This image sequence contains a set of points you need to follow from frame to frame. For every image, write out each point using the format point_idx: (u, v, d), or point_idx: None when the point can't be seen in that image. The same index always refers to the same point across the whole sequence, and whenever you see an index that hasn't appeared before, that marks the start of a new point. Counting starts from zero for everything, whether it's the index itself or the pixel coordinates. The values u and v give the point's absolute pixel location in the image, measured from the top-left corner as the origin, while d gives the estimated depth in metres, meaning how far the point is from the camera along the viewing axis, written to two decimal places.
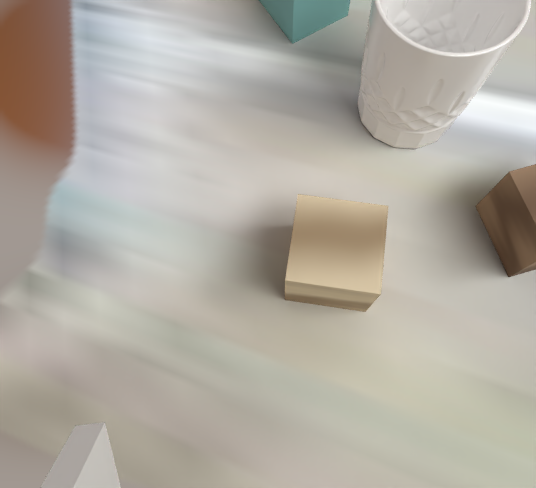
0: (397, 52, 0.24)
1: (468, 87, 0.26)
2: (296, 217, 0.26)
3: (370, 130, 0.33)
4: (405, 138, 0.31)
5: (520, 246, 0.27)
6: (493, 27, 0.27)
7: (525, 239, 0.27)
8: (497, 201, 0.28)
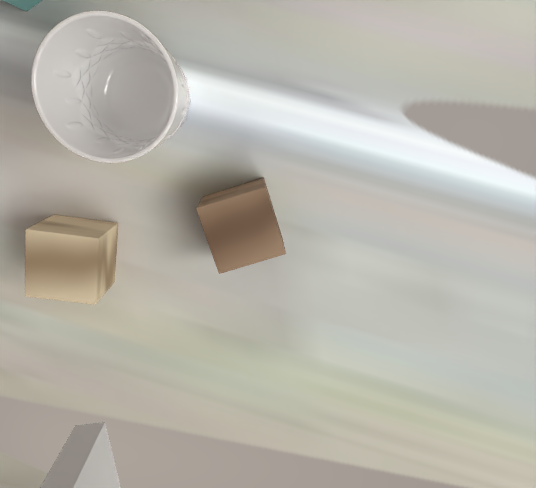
0: None
1: None
2: (27, 248, 0.33)
3: None
4: None
5: None
6: None
7: None
8: None
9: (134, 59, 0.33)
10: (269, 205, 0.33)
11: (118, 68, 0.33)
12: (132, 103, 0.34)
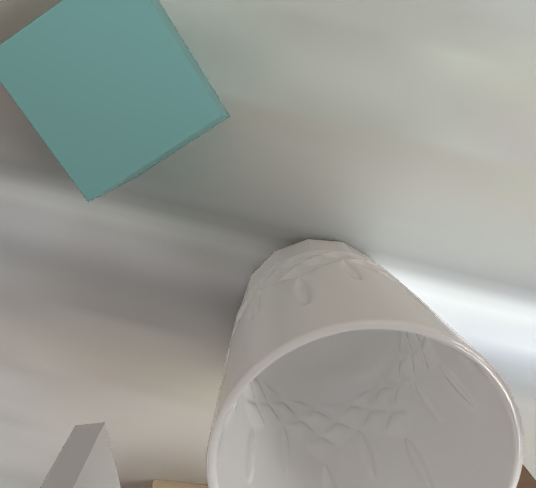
0: None
1: None
2: None
3: None
4: None
5: None
6: (454, 384, 0.15)
7: None
8: None
9: None
10: None
11: None
12: None
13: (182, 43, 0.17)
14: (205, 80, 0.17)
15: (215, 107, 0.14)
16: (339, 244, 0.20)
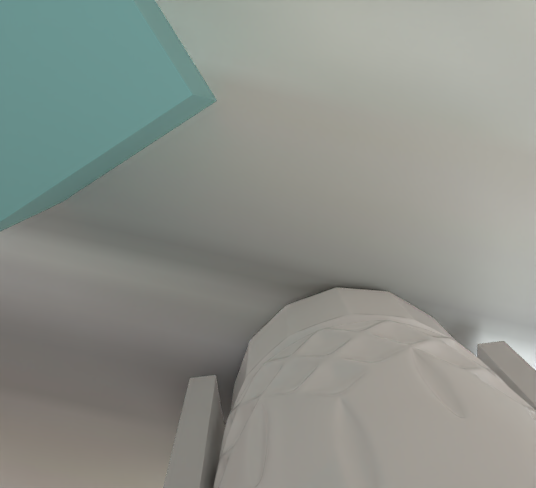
0: None
1: None
2: None
3: None
4: None
5: None
6: None
7: None
8: None
9: None
10: None
11: None
12: None
13: None
14: (172, 38, 0.10)
15: (180, 79, 0.07)
16: (386, 298, 0.13)
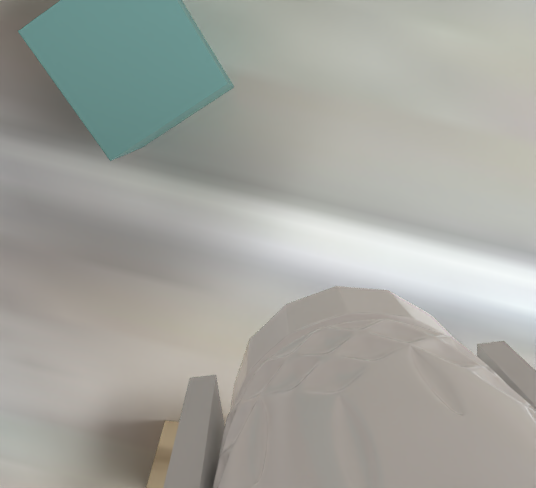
0: None
1: None
2: None
3: None
4: None
5: None
6: None
7: None
8: None
9: None
10: None
11: None
12: None
13: (191, 19, 0.18)
14: (212, 53, 0.19)
15: (222, 76, 0.16)
16: (385, 297, 0.13)
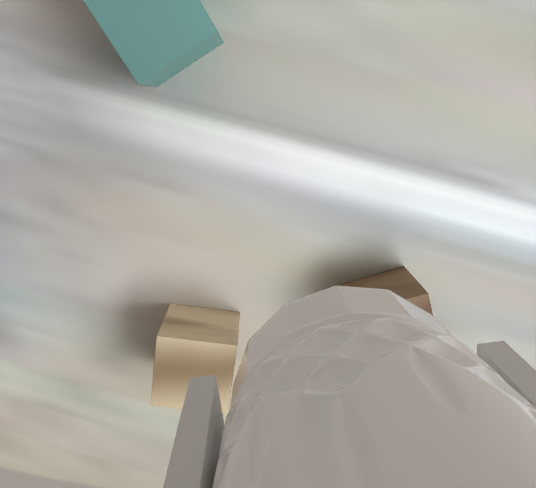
0: None
1: None
2: (156, 355, 0.30)
3: None
4: None
5: None
6: None
7: None
8: None
9: None
10: (430, 312, 0.29)
11: None
12: None
13: None
14: None
15: (213, 26, 0.24)
16: (385, 296, 0.13)
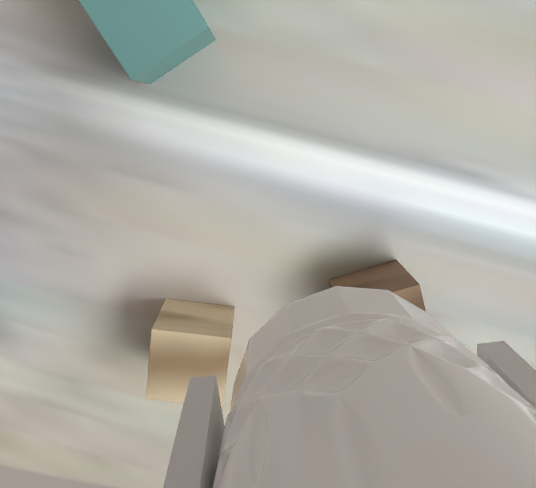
0: None
1: None
2: (151, 349, 0.30)
3: None
4: None
5: None
6: None
7: None
8: None
9: None
10: (422, 303, 0.30)
11: None
12: None
13: None
14: None
15: (204, 21, 0.25)
16: (386, 297, 0.13)
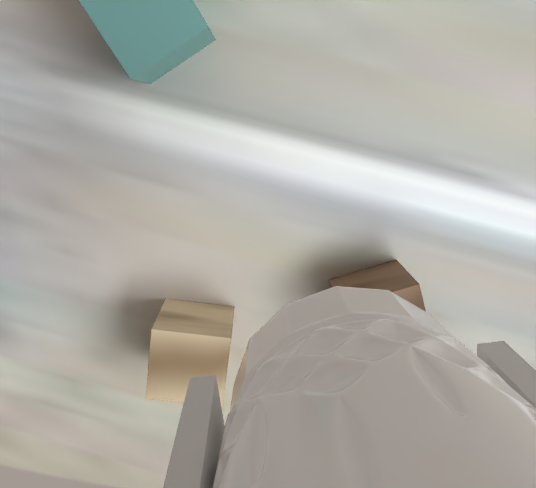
0: None
1: None
2: (151, 349, 0.30)
3: None
4: None
5: None
6: None
7: None
8: None
9: None
10: (422, 303, 0.30)
11: None
12: None
13: None
14: None
15: (204, 21, 0.25)
16: (386, 297, 0.13)
